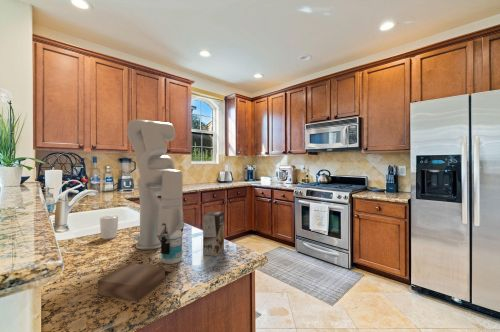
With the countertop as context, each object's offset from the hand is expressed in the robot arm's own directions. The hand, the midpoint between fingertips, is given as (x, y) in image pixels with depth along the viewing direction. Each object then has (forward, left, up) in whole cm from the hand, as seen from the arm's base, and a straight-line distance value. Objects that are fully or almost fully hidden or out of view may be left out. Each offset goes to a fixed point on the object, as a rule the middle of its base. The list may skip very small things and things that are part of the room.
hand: (171, 249), depth 89 cm
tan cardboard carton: (0, -16, -5) cm, 17 cm away
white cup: (-47, +18, -4) cm, 50 cm away
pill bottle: (0, 0, -4) cm, 4 cm away
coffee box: (+11, +13, -4) cm, 18 cm away
